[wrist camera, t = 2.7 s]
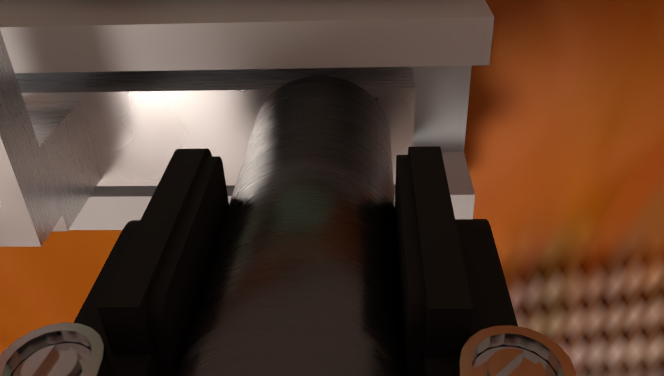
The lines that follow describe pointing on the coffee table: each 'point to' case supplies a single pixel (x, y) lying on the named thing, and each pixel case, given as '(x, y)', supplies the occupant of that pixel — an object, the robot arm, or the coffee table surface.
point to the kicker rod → (238, 198)
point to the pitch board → (263, 58)
